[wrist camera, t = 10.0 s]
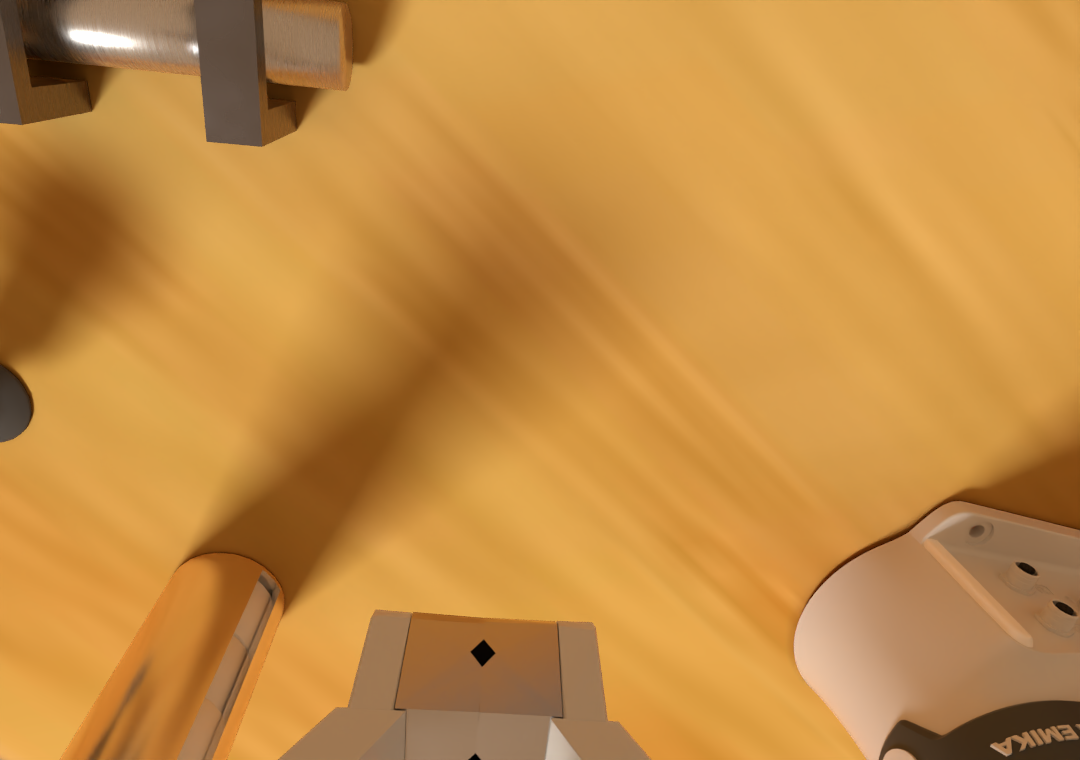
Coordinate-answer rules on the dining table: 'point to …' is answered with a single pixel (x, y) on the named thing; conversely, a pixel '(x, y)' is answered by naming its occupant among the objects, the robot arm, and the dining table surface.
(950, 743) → the robot arm
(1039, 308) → the dining table surface
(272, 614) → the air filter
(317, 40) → the tube
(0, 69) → the collar
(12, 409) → the sundae
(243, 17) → the collar
